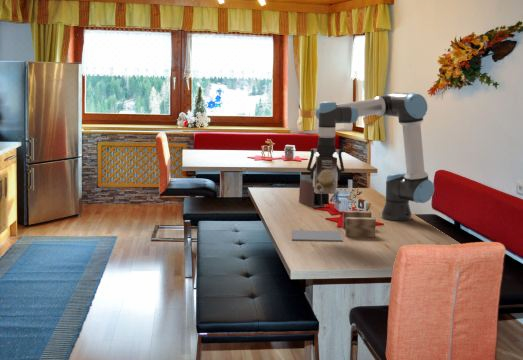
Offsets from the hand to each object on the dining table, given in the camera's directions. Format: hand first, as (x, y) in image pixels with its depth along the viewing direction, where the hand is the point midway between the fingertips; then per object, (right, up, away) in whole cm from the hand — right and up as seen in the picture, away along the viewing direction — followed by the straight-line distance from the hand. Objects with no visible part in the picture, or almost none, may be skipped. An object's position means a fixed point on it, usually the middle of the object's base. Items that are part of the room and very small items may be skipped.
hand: (325, 186), depth 300 cm
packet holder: (+17, -21, +12) cm, 29 cm away
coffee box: (0, -3, 0) cm, 3 cm away
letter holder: (+1, -11, +80) cm, 81 cm away
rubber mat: (-4, -22, +2) cm, 23 cm away
